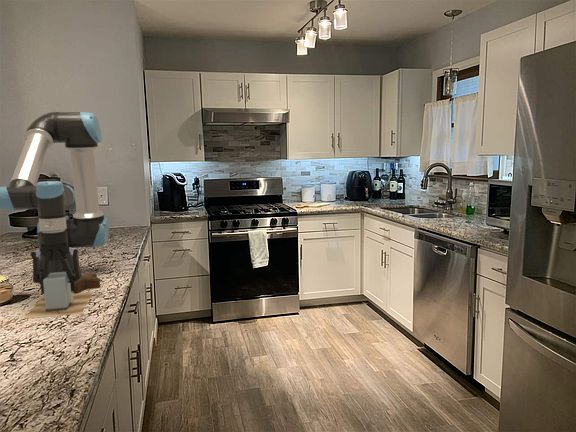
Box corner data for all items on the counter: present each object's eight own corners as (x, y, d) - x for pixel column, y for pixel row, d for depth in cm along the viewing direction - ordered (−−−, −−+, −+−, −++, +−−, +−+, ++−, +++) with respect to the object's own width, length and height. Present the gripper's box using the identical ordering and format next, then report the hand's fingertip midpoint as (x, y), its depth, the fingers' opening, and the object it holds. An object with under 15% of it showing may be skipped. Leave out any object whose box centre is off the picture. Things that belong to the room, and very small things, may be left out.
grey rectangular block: (53, 302, 149) (50, 272, 148) (73, 300, 151) (70, 271, 149) (45, 311, 141) (43, 280, 139) (66, 309, 142) (64, 278, 141)
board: (43, 297, 156) (43, 296, 156) (93, 293, 160) (93, 292, 160) (23, 320, 135) (22, 318, 135) (81, 315, 139) (81, 313, 139)
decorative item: (67, 286, 156) (47, 273, 165) (67, 302, 157) (47, 289, 166) (109, 276, 167) (89, 265, 177) (109, 292, 169) (89, 279, 178)
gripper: (15, 234, 136) (23, 308, 140) (84, 231, 141) (89, 303, 144) (23, 230, 144) (30, 301, 147) (88, 227, 148) (93, 295, 152)
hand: (59, 302), depth 146 cm, fingers closed on grey rectangular block, 6 cm apart
